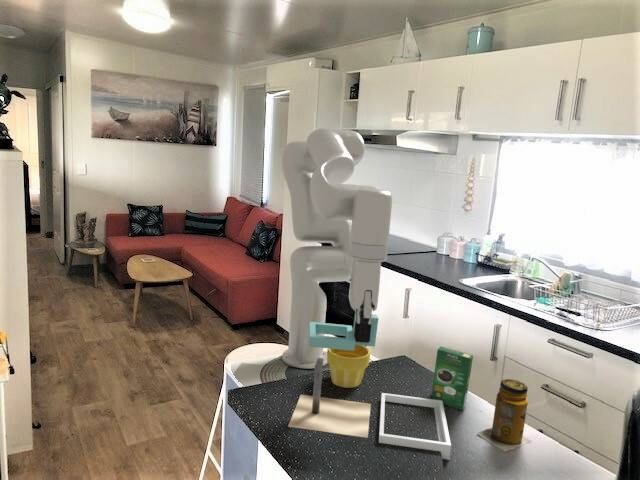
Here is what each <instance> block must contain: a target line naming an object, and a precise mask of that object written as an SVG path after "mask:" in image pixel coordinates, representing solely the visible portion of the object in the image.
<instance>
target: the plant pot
mask: <svg viewBox="0 0 640 480" xmlns="http://www.w3.org/2000/svg"><path fill="white" fill-rule="evenodd" d="M326 350H327V351H326V354H327V364H328V365H329V371H330V378H331V383H333V385H335V386H337V387H341V388H346V389H347V388H350V389H351V388H357V387H359V385H361V382H362V380H363V377H364V374H365V371H366V368H368V366H369V365H370V359H371V358H370V357H371V351H370V348H369V347H368V346H363V345H355V349H354V351H351V350H340V349H330V348H327V349H326Z"/></svg>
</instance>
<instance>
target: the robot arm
mask: <svg viewBox="0 0 640 480" xmlns="http://www.w3.org/2000/svg"><path fill="white" fill-rule="evenodd" d="M365 147H366V146H365V142H364V139H363V137H362V135H360V133H359V132H357V131H355V130H350V129H339V128H330V127H329V128H327V127H323V128H317V129H315V130H313V131H312V132H311V133H310V134H309V135H308V136H307V138H306V140H295V141H294V140H293V141H290V142H289V143H286V145H285V146H284V148H283V150H282V155H281V168H282V173H283V176H284V177H283V178H284V180H285V183H286V185H287V188H288V191H289V195H290V205H291V209H290V210H291V219H292V221H291V222H292V231H293V234H294V237H295V239H296V240H298V241H299V242H303V243H318V244H319V243H321V244H323V243H326V244H327V243H329V244H331V245H332V246H327V245H307V246H305V245H304V246H301V247H298V248H295V249H294V250H293V252H291V255H290V257H289V258H290V259H289V260H290V261H289V268H290V277H291V300H290V302H291V303H290V316H289V318H290V319H289V332H288V333H289V335H288V349H286V350H284V351H283V352H282V357H281V358H282V361H283V362H284V363H285V364H286V365H288V366H290V367H293V368H297V369H305V370H308V369H309V370H310V369H314V367H315V365H316V362H317V359H318V358H323V359H324V360H323V366H322V367H324V366H326V364H328V362H327V352H325V351H324V348H319V347H309V324H310V322H319V323H326V315H327V314H326V312H327V304H328V303H327V295H326V293H325V292H324V290H323V289H322V288H321V287H320V285H319V284H320V283H329V282H330V283H332V282H333V283H334V282H338V283H339V282H346V281H350V284H349V292H348V300H349V304H350V307H351V309H352V310H353V311H354V314H355V313H357V322H355V331H354V337H355V342H365V343H368V342H370V333H371V316H372V314H373V312H375V311H377V310H378V309H377V308H378V303H379V297H380V296H379V295H380V294H379V293H380V284H381V282H380V281H381V273H382V272H381V268H382V263H384V262H386V261H388V260H387V259H388V252H389V251H388V249H389V241H390V240H389V239H390V229H391V218H392V206H393V197H392V194H391V192H390V191H388V190H384V189H379V188H378V187H376V186H373V185H364V184H363V185H362V184H352V183H351V184H349V183H345V182H346V181H348V180H349V179H350V178H351V177H352V176H353V174H354V171H355V167H356V166H357V165H358V164H359V163H361V161H362V160H363V158H364V155H365V149H366V148H365ZM309 174H312V175H311V176H310V175H309ZM354 319H355V316H353V320H352V322H353V323H352V324H353V325H352V328H353V327H354ZM316 335H318V336H325V334H319V333H316Z"/></svg>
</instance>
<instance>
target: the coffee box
mask: <svg viewBox="0 0 640 480" xmlns="http://www.w3.org/2000/svg"><path fill="white" fill-rule="evenodd" d="M436 352H437V353H436V357H435V359H436V360H435V363H434V364H435V366H434V373H433V380H432V388H431V394H430V396H431V399H433V400H441V401H442V402H443V406H444V405H445V406H447V407H451V408H453V409H455V410H460V411H464V410H465V407H466V404H467V397H468V392H469V384H470V380H471V379H470V378H471V373H472V365H473V358H474V355H473V354H470V353H467V352H462V351H459V350H455V349H453V348H452V349H451V348H448V347H445V346H442V345H440V346H439V347H438V348H437V350H436Z"/></svg>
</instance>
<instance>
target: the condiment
mask: <svg viewBox="0 0 640 480" xmlns="http://www.w3.org/2000/svg"><path fill="white" fill-rule="evenodd" d="M528 389H529V388H528V386H527V385H526V384H525V383H523V382H522V381H520V380H516V379H510V378H507V379H502V380H501V382H500V387H499V389H498V392H497V394H496V399H495V407H494V412H493V420H492V427H490V428H486V429H484V430H482V431H481V430H480V431H478V432H476V434H477V435H479V437H481V438H482V439H484V440H485V441H487V442H489V443H490V444H492V445H493V446H495V447H496V448H498V449H499V450H502V451H504V452H508V451H511V450H513V449H515V448H517V447H521V446H523V445H526V444H527V443H530V442H531V441H532V440H530V439H528V438H526V437H525V436H524V429H525V425H526V424H525V423H526V415H527V410H528V403H529V402H528V398H527V397H528Z"/></svg>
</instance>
